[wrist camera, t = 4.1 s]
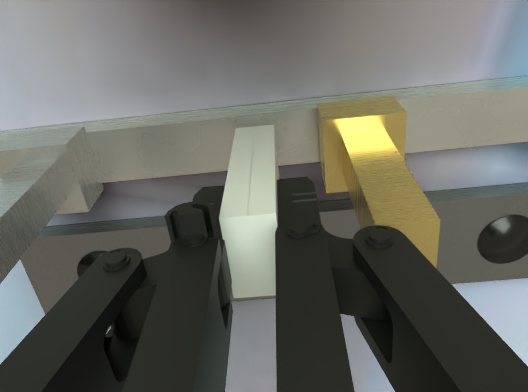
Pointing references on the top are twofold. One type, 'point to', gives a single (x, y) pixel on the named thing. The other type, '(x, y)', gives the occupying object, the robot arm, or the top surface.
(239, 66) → the top surface
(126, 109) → the top surface
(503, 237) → the hole plate
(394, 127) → the slider
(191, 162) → the rail
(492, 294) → the top surface
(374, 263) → the robot arm
